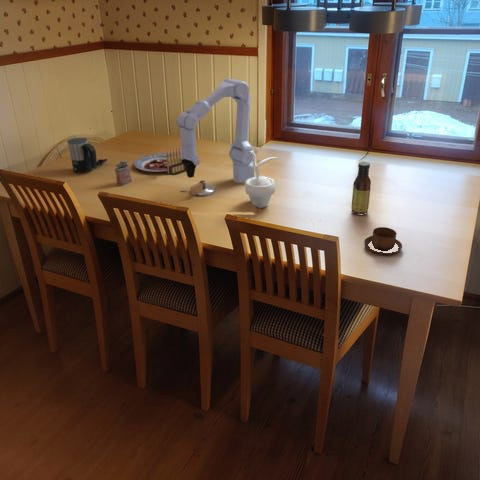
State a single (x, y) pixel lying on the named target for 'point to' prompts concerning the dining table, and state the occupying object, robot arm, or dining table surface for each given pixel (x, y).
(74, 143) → the milk frother
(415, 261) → the dining table surface
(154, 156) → the ceramic plate
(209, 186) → the dial
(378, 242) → the cup and saucer
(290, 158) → the dining table surface
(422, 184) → the dining table surface
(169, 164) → the ammunition clip
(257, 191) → the potted plant
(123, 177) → the lighter
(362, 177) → the sauce bottle
